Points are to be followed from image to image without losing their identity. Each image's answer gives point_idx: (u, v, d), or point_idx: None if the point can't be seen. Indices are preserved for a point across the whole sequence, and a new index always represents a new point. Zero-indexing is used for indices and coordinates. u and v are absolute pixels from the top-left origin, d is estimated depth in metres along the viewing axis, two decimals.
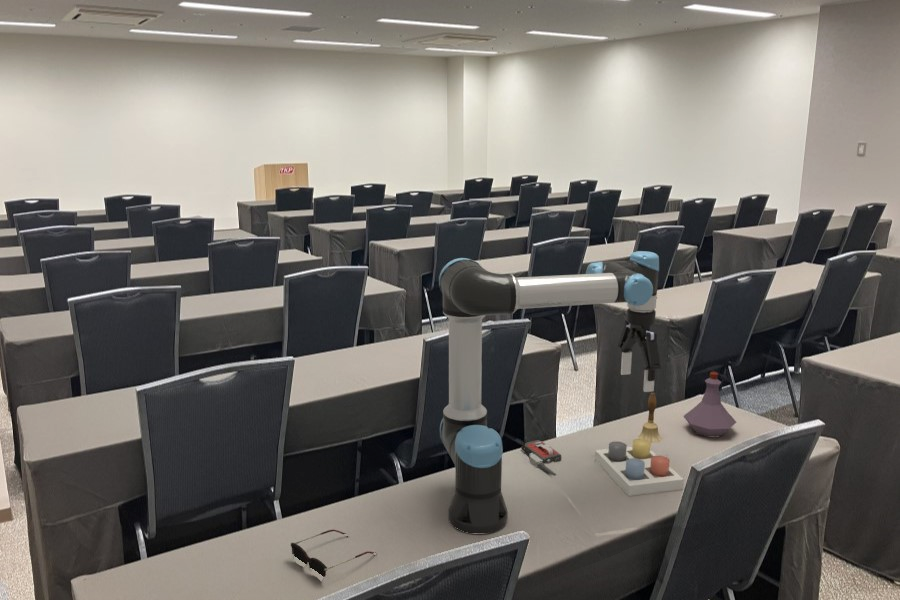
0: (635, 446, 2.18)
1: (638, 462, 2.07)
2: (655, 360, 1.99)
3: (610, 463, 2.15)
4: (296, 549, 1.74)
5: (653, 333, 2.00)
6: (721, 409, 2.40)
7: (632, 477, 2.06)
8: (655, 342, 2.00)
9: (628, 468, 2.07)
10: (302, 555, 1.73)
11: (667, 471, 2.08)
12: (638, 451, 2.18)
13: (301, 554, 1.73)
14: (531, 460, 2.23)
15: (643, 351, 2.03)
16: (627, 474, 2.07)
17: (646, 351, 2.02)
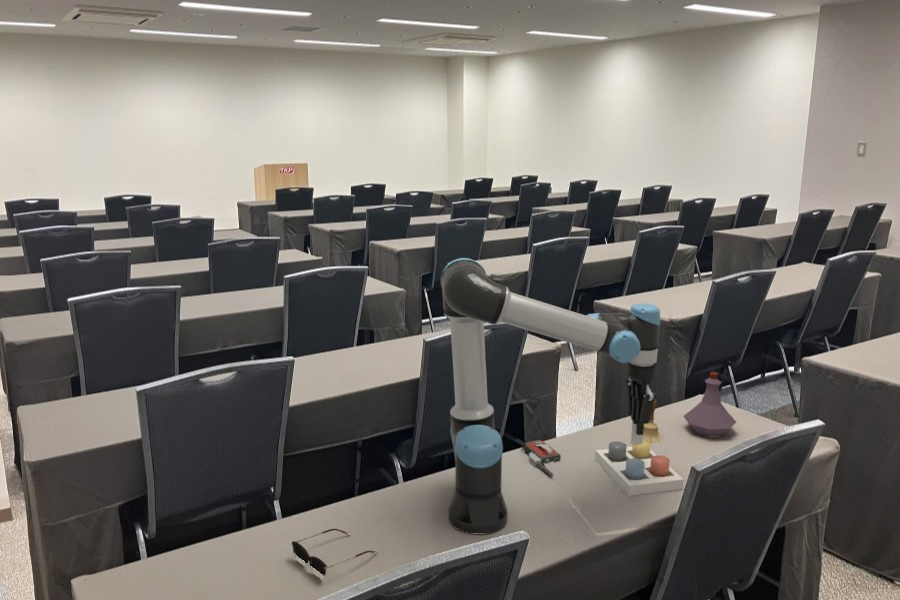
0: (635, 446, 2.18)
1: (638, 462, 2.07)
2: (646, 417, 2.00)
3: (610, 463, 2.15)
4: (297, 548, 1.75)
5: (653, 396, 1.96)
6: (721, 409, 2.40)
7: (632, 477, 2.06)
8: (652, 403, 1.98)
9: (628, 468, 2.07)
10: (303, 554, 1.73)
11: (667, 471, 2.08)
12: (638, 451, 2.18)
13: (302, 553, 1.74)
14: (530, 459, 2.24)
15: (637, 405, 2.02)
16: (627, 474, 2.07)
17: (640, 407, 2.01)
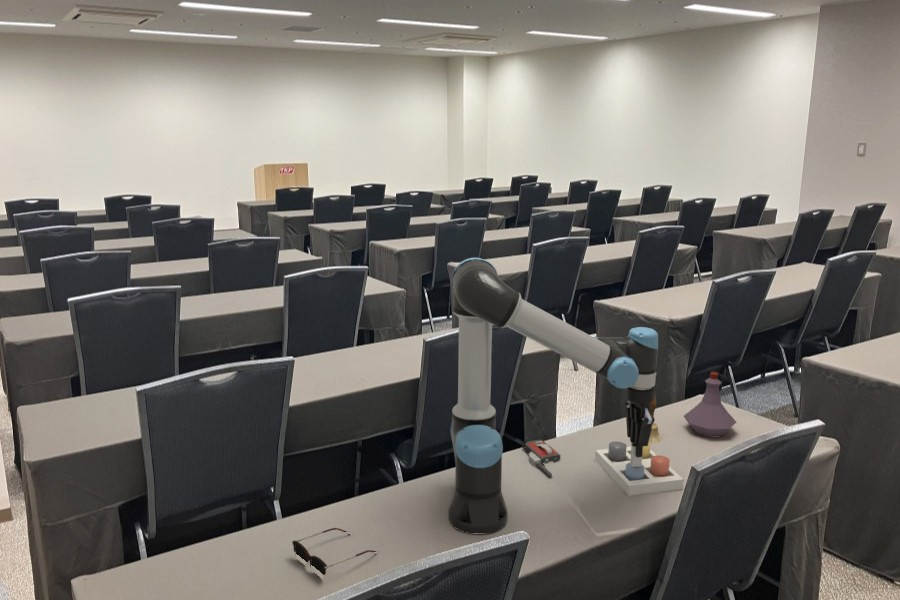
0: None
1: None
2: (644, 440, 2.02)
3: (610, 463, 2.15)
4: (298, 547, 1.75)
5: (651, 420, 1.98)
6: (721, 409, 2.40)
7: None
8: (650, 426, 2.00)
9: (627, 472, 2.07)
10: (303, 553, 1.74)
11: (667, 471, 2.08)
12: None
13: (302, 552, 1.74)
14: (530, 459, 2.24)
15: (636, 428, 2.03)
16: (627, 478, 2.08)
17: (639, 430, 2.03)
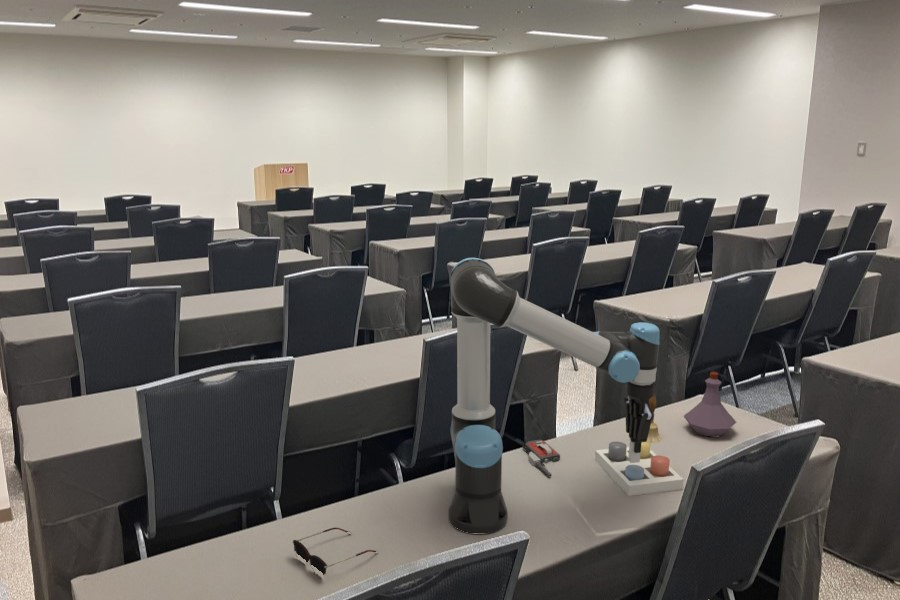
0: None
1: (638, 469, 2.08)
2: (643, 436, 2.01)
3: (610, 463, 2.15)
4: (298, 546, 1.76)
5: (651, 415, 1.98)
6: (721, 409, 2.40)
7: None
8: (650, 422, 1.99)
9: (627, 474, 2.07)
10: (304, 552, 1.74)
11: (667, 471, 2.08)
12: None
13: (303, 551, 1.74)
14: (529, 459, 2.24)
15: (635, 424, 2.03)
16: None
17: (638, 425, 2.03)
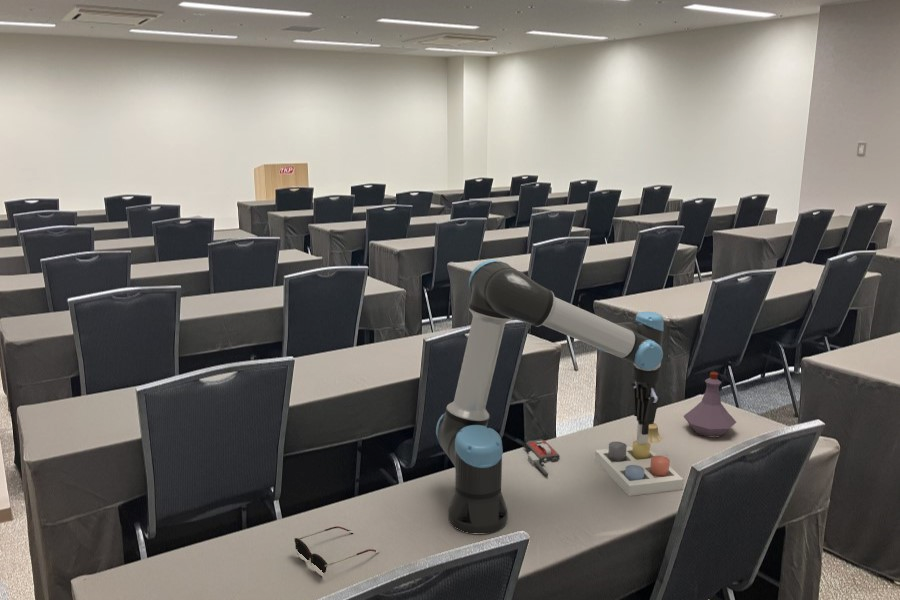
0: (635, 447, 2.18)
1: (638, 469, 2.08)
2: (650, 418, 2.13)
3: (610, 463, 2.15)
4: (299, 544, 1.76)
5: (657, 399, 2.10)
6: (721, 409, 2.40)
7: None
8: (656, 405, 2.11)
9: (627, 474, 2.07)
10: (305, 551, 1.75)
11: (667, 471, 2.08)
12: (638, 452, 2.18)
13: (304, 549, 1.75)
14: (529, 458, 2.25)
15: (642, 407, 2.15)
16: None
17: (645, 408, 2.15)
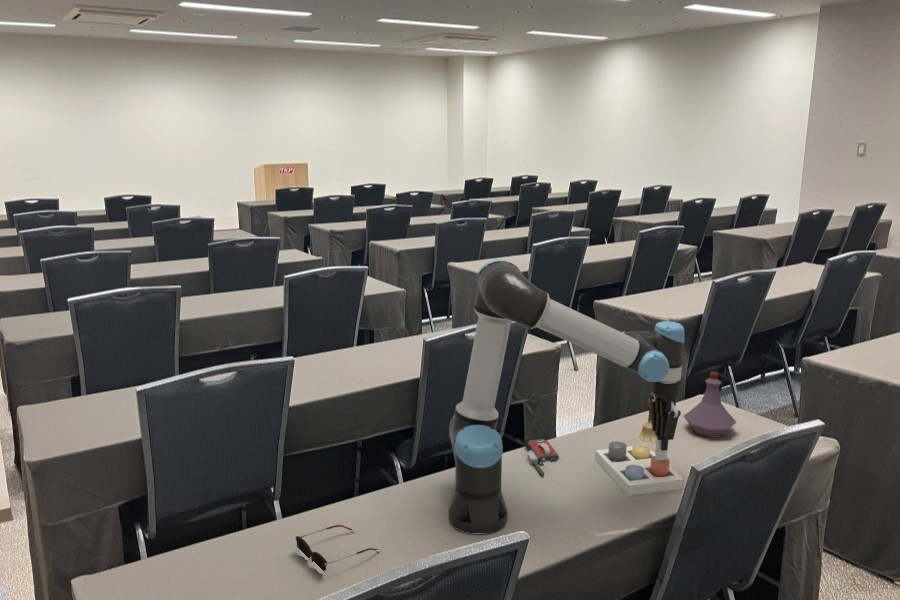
0: (635, 452, 2.19)
1: (638, 469, 2.08)
2: (670, 434, 2.03)
3: (610, 463, 2.15)
4: (300, 542, 1.77)
5: (677, 413, 1.99)
6: (721, 409, 2.40)
7: None
8: (676, 419, 2.01)
9: (627, 474, 2.07)
10: (305, 549, 1.75)
11: (667, 471, 2.08)
12: (638, 457, 2.18)
13: (305, 548, 1.76)
14: (528, 457, 2.25)
15: (662, 422, 2.05)
16: None
17: (665, 423, 2.04)
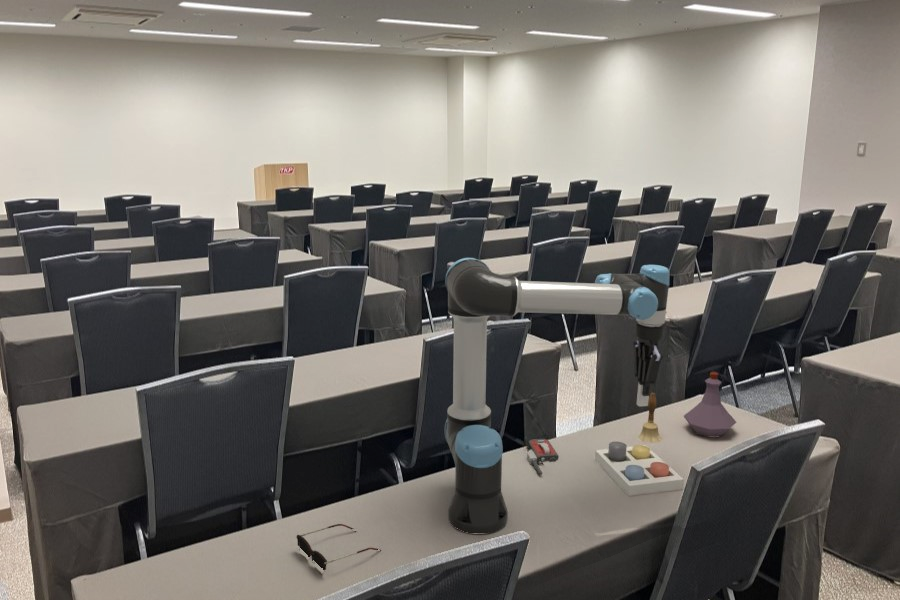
0: (635, 452, 2.19)
1: (638, 469, 2.08)
2: (652, 378, 2.02)
3: (610, 463, 2.15)
4: (301, 541, 1.78)
5: (660, 356, 1.98)
6: (721, 409, 2.40)
7: None
8: (658, 363, 2.00)
9: (627, 474, 2.07)
10: (306, 547, 1.76)
11: None
12: (638, 457, 2.18)
13: (305, 546, 1.76)
14: (527, 456, 2.26)
15: (644, 366, 2.04)
16: None
17: (647, 368, 2.03)
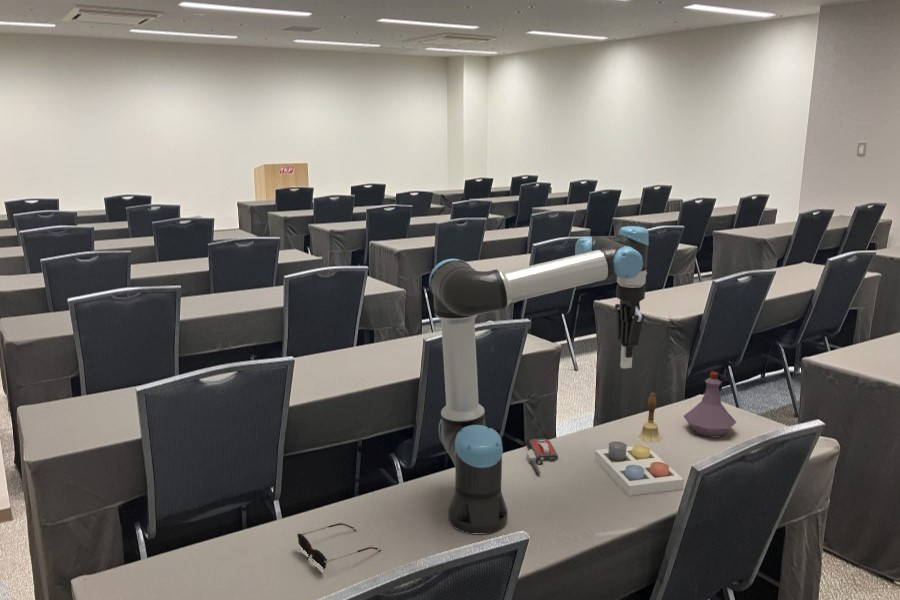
0: (635, 452, 2.19)
1: (638, 469, 2.08)
2: (634, 339, 2.03)
3: (610, 463, 2.15)
4: (302, 540, 1.78)
5: (641, 317, 1.99)
6: (721, 409, 2.40)
7: None
8: (640, 324, 2.01)
9: (627, 474, 2.07)
10: (307, 546, 1.76)
11: None
12: (638, 457, 2.18)
13: (306, 545, 1.77)
14: (527, 456, 2.26)
15: (626, 328, 2.05)
16: None
17: (629, 329, 2.04)
